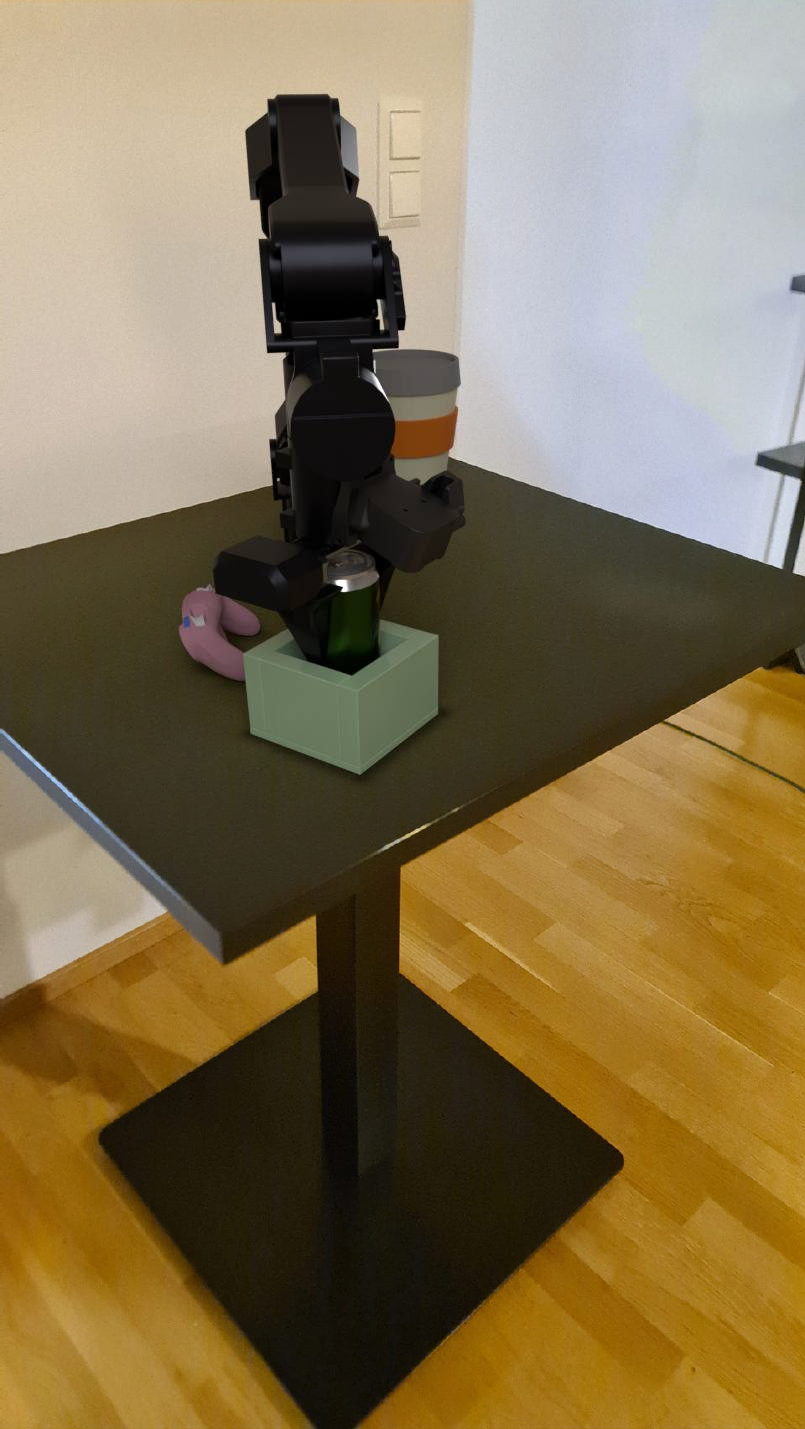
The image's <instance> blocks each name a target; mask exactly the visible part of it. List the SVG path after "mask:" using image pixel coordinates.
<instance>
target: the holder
mask: <svg viewBox="0 0 805 1429" xmlns="http://www.w3.org/2000/svg"><path fill="white" fill-rule="evenodd" d="M380 633H381V657H380V658H378V659H377V660H375V661H374V662H372V663H370V664H369V665H367V666H366V667H364V668H363V669H361V670H360V671H358V672H357V673H355V674H354V675H352V676H351V675H348V674H345V673H342V672H339V671H336V670H333V669H329V668H326V667H323V666H320V665H317V664H314V663H311V662H307V659H306V657H305V656H304V654H303V652H302V651H301V649H300V647H299V646H298V644H297V643H296V641H295V639H294V638H293V636H292V634H291V633H290V631H289V629H288V628H286V629H284V630H283V631H281V632H279V633H277V634H275V635H274V636H271V637H270V638H268V639H266V640H264V641H263V642H261V643H260V644H257V645H256V646H254V647H252V648H251V649H249V650H246V651H245V652H243V661H244V671H245V681H244V682H245V689H246V691H245V692H246V698H247V699H246V700H247V710H248V711H247V712H248V719H249V731H250V732H249V733H250V735H252V736H256V737H258V738H260V739H263V740H265V741H268V742H271V743H274V744H277V745H279V746H282V747H284V748H287V749H290V750H292V751H296V752H297V753H301V754H304V755H306V756H308V757H311V758H314V759H317V760H318V761H323V762H325V763H327V764H331V765H332V766H335V767H337V768H340V769H343V770H346V771H348V772H351V773H354V774H357V775H358V776H361V775H362V774H363V773H364V772H366V771H367V770H369V769H370V768H371V767H372V766H374V765H375V764H376V763H378V762H379V761H380V760H381V759H383V758H384V757H385V756H387V755H388V754H389V753H390V752H391V751H393V750H394V749H395V748H397V747H398V746H399V745H400V744H402V743H403V742H404V741H405V740H407V739H408V738H410V737H411V736H412V735H413V734H414V733H416V732H417V731H418V730H420V729H421V728H422V727H423V726H425V725H426V724H427V723H429V722H430V721H432V719H433V718H435V717H437V715H439V652H440V650H439V649H440V648H439V647H440V646H439V640H440V639H439V638H440V637H439V634H435V633H432V632H427V631H424V630H420V629H417V628H413V627H410V626H406V625H402V624H399V623H395V622H392V621H389V620H385V619H382V618H380Z"/></svg>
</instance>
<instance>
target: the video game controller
mask: <svg viewBox="0 0 805 1429" xmlns="http://www.w3.org/2000/svg"><path fill="white" fill-rule="evenodd" d="M181 605H182V606H181V619H182V623H181V624H179V626H178V633H179V637H180V640H181V642H182V644H183V646H184V648H185V650H186V651H187V653H188V654H189V655H190V657H191V658H192V659H193V660H194V661H196V662H197V663H200V664H203V665H204V666H206V667H207V668H208V669H210V670H212V671H214V672H215V673H217V674H218V675H221V676H223V677H225V678H227V679H230V680H235V681H236V682H237V681H238V682H246V681H245V671H244V661H243V653H244V651H242V650H240V649H239V648H238V647H236V646H234V645H233V644H231V643H230V642H229V640H228V637H227V635H226V633H225V631H227V632H229V633H232V634H234V635H238V636H244V637H253V636H256V635H257V634H258V633H259V632H260V629H261V624H260V620H259V618H258V617H257V616H256V615H255V613H253V612H252V611H251V610H250V609H248V608H247V607H245V606H243V605H241V604H239V603H238V602H236V601H234V599H232V598H228V597H225V596H221V595H218V594H215V587H213V586H212V585H211V583H209V584H208V585H207V586H206V588H204V587H197V588H196V589H194V590H192V591H190V592H189V593H187V594H186V595H185V596H184V598H183V601H182V604H181ZM224 630H225V631H224Z"/></svg>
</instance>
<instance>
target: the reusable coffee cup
mask: <svg viewBox="0 0 805 1429" xmlns="http://www.w3.org/2000/svg"><path fill="white" fill-rule="evenodd" d="M373 356H374V357H375V374H376V377H377V379H378V381H379V383H380V385H381V387H382V389H383V391H384V393H385V395H386V397H387V399H388V401H389V403H390V406H391V409H392V411H393V414H394V418H395V425H396V431H395V439H394V443H393V446H392V448H391V454H393V455H394V458H395V471H396V475H397V476H399V477H401V478H403V479H405V480H407V481H410V480H412V479H415V478H418V479H419V480H421V482H420V484H422V485H423V484H424V483H425V482H426V481H427V480H429V479H430V478H431V477H433V476H435V475H437V474H439V473H441V472H443V471H445V470H446V471H448V463H449V455H450V450H452V449H453V447H454V444H455V438H456V429H457V423H458V414H459V407H458V406H457V405H456V404H457V403H456V402H457V396H458V389H459V387H460V386H461V385H462V383H461V382H462V380H461V370H460V368H461V367H460V359H459V357H458V356H457V355H455V354H454V353H449V352H446V351H441V350H434V349H420V348H419V349H418V348H408V349H406V348H403V349H402V348H401V349H399V348H398V349H384V350H378V351H373Z"/></svg>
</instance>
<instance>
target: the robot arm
mask: <svg viewBox="0 0 805 1429" xmlns="http://www.w3.org/2000/svg"><path fill="white" fill-rule="evenodd" d="M266 106H267V112H266V113H264V114H263V115H262V116H261V117H260V118H258V119H257V120H256V121H255V122H253V123H252V124H251V125H250V126H248V127H247V128H245V131H244V136H245V138H244V139H245V150H246V159H247V160H246V163H247V164H246V165H247V173H248V174H247V176H248V188H249V200H250V201H258V202H259V204H258V205H259V213H260V215H259V216H260V227H261V231H262V233H263V234H264V236H265V237H266V238H258V239H257V240H258V252H259V253H258V254H259V266H260V279H261V294H262V306H263V318H264V319H263V320H264V321H263V322H264V332H265V333H264V334H265V345H266V346H265V347H266V354H284V356H285V357H283V358H282V373H283V386H284V389H283V390H284V400H283V402H282V404H281V405H280V406H279V408H278V409H277V411H276V412H275V414H274V426H275V427H274V428H275V438H269V439H268V442H269V443H268V445H269V457H270V469H271V482H272V496H273V501H274V502H278V501H281V510H282V511H281V512H279V524H280V528H281V529H283V538H284V541H283V540H280V539H275V538H273V537H272V538H271V537H267V536H264V535H259V534H256V535H253V536H252V537H250V538H246V539H245V540H242V541H241V542H238V543H236V544H233V545H232V546H229V547H227V548H224V549H223V550H220V552H219V553H218V554H217V555H216V557H215V558H214V559H213V560H212V561H211V564H212V565H211V566H212V575H213V584H214V585H213V586H214V588H215V594H218V595H221V596H225V597H228V598H230V599H231V600H235V601H239V602H242V603H244V604H249V605H252V606H255V607H259V608H262V609H266V610H269V611H272V612H276V613H277V614H278V615H279V617H280V619H281V620H282V622H283V623H284V625H285V626H286V627H287V628H286V629H289V631H290V633H291V634H292V636H293V638H294V639H295V641H296V643H297V644H298V646H299V647H300V649H301V651H302V652H303V654H304V656H305V657H306V659H307V661H308V662H311V663H314V664H317V665H320V666H323V667H325V666H326V657H327V642H328V605H329V603H330V602H331V601H332V600H333V599H334V598H335V597H336V596H337V595H338V594H339V593H340V592H341V591H342V590H343V587H342V586H339V585H335V584H331V583H328V577H327V566H328V565H329V560H328V559H330V558H332V557H334V556H336V555H338V554H340V553H342V552H344V551H346V550H356V551H361V552H365V553H367V554H369V555H371V556H372V557H373V558H374V559H375V564H376V566H375V567H376V569H377V571H378V574H379V590H380V613H381V612H382V609H383V605H384V602H385V598H386V596H387V592H388V590H389V586H390V583H391V581H392V578H393V576H394V573H395V570H398V571H400V572H402V573H406V574H416V573H419V572H420V571H422V570H423V569H424V568H425V567H426V566H427V565H428V564H431V563H432V562H434V561H436V560H438V561H439V560H441V559H443V558H444V557H445V555H446V552H447V550H448V547H449V544H450V541H451V538H452V536H453V533H454V532H456V531H458V530H460V529H462V528H463V527H464V526H466V522H467V519H466V517H465V516H464V512H465V510H466V507H465V494H464V482H463V479H462V478H460V477H458V476H457V475H456V474H454V473H453V472H451V471H449V470H447V471H446V470H445V471H443V472H441V473H439V474H437V475H435V476H433V477H431V478H430V479H429V480H427V481H426V482H425V483H424V484H423V485H422V484H420V482H421V480H419V479H418V478H415V479H412V480H410V481H407V480H405V479H403V478H401V477H399V476H397V475H396V471H395V458H394V455H393V454H391V448H392V446H393V443H394V439H395V431H396V425H395V418H394V414H393V411H392V409H391V406H390V403H389V401H388V399H387V397H386V395H385V393H384V391H383V389H382V387H381V385H380V383H379V381H378V379H377V377H376V374H375V357H374V356H373V352H374V350H398V349H399V348H400V337H399V336H400V335H399V331H400V332H401V331H402V332H403V331H405V330H406V323H407V322H406V321H407V311H406V305H405V297H404V296H405V295H404V287H403V280H402V271H401V265H400V264H401V263H400V258H399V256H398V255H397V254H396V252H394V250H393V241H392V239H390V237H389V235H380V231H379V224H378V221H377V218H376V214H375V212H374V209H373V206H372V205H371V203H370V202H369V201H367V200H365V199H363V198H361V197H359V196H357V194H358V190H359V185H360V167H359V166H360V165H359V164H360V163H359V150H358V149H359V148H358V147H359V146H358V132H357V127H356V126H354V125H353V124H352V123H350V121H348V120H347V119H346V118H345V117H343V116H342V115H341V108H340V100H339V98H338V97H331V96H330V95H329V94H328V93H293V94H292V93H283V94H282V93H281V94H280V93H279V94H278V93H277V94H276V95H275V97H274V98H266ZM378 301H379V303H380V311H381V318H382V324H383V329H382V328H381V319H380V318H378V317H379V304H378ZM273 304H274V310H273ZM274 311H275V320H276V321H277V322H278V323H279V324H280V332H275V322H274ZM278 479H279V480H278Z"/></svg>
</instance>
